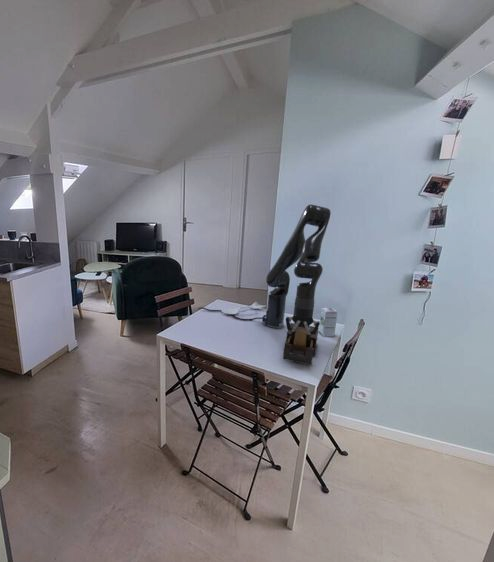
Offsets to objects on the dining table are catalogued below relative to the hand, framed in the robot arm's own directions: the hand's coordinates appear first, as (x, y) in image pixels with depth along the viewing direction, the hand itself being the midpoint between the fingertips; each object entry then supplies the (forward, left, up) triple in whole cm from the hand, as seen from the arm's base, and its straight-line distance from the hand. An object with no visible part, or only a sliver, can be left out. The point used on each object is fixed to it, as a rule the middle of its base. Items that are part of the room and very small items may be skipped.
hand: (300, 340), depth 145 cm
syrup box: (+10, +37, -10) cm, 40 cm away
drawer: (0, -1, -9) cm, 9 cm away
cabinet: (0, +13, -10) cm, 16 cm away
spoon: (-38, +52, -10) cm, 65 cm away
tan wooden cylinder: (0, 0, -8) cm, 8 cm away
